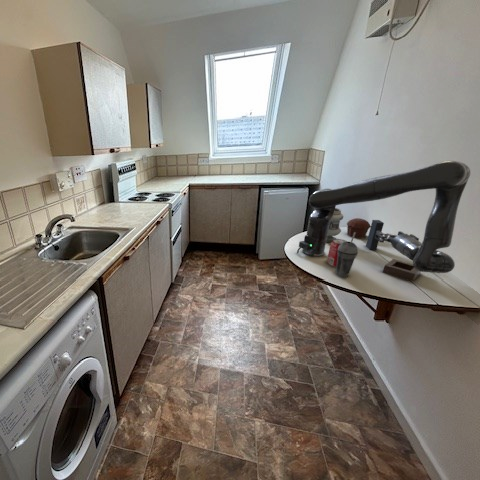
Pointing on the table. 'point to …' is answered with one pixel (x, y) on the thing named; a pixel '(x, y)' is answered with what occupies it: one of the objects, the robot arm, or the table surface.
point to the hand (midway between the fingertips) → (388, 232)
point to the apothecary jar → (334, 225)
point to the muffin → (357, 227)
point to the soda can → (334, 252)
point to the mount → (401, 269)
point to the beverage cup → (346, 257)
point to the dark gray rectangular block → (374, 234)
